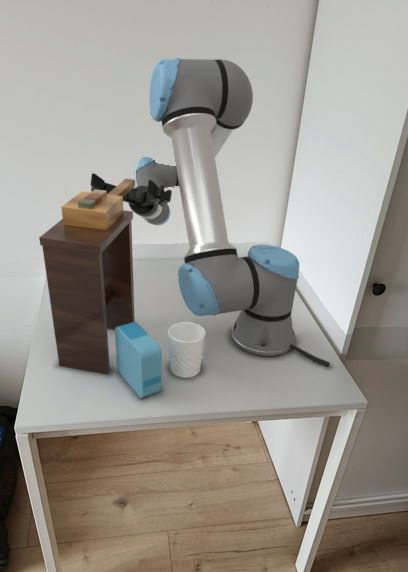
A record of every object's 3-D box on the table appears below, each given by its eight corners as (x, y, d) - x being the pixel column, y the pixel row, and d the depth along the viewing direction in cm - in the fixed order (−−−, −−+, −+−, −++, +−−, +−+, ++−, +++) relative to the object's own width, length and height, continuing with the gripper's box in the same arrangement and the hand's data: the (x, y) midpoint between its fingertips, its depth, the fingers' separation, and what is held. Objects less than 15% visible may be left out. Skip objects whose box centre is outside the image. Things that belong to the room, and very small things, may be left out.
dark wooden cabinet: (90, 321, 126) (79, 204, 109) (136, 329, 124) (133, 211, 107) (57, 365, 111) (38, 237, 93) (109, 374, 109) (100, 245, 92)
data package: (161, 394, 105) (162, 347, 98) (142, 401, 102) (141, 353, 96) (135, 364, 113) (133, 318, 106) (116, 370, 110) (114, 324, 104)
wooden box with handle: (112, 183, 122) (111, 164, 119) (148, 187, 120) (148, 168, 118) (63, 224, 99) (60, 201, 96) (106, 230, 98) (105, 207, 95)
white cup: (207, 362, 114) (209, 326, 109) (196, 383, 108) (199, 345, 102) (174, 355, 116) (175, 318, 110) (162, 375, 110) (162, 337, 104)
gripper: (188, 222, 134) (171, 206, 113) (99, 211, 137) (67, 193, 116) (192, 194, 133) (176, 172, 112) (103, 183, 136) (71, 160, 115)
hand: (120, 182), depth 114 cm, fingers open, 13 cm apart
